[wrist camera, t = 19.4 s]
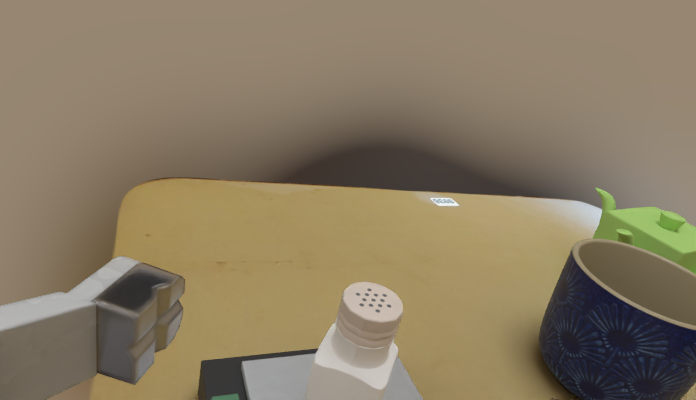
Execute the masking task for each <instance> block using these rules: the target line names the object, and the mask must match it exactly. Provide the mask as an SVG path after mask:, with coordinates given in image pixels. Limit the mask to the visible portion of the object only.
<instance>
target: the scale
mask: <svg viewBox="0 0 696 400" xmlns="http://www.w3.org/2000/svg"><path fill="white" fill-rule="evenodd" d="M317 350H318V349H310V350H300V351H290V352H281V353H271V354H262V355H252V356H243V357H233V358H224V359H214V360H204V361H202V362H201V370H200V379H199V389H198V398H199V400H304V397H305V393H306V389H307V385H308V381H309V377H310V373H311V368H312V364H313V360H314V356H315V354H316V352H317ZM382 400H423V398H422V397H421V395H420V393H419V392H418V390H417V388H416V386H415V385H414V383H413V381H412V380H411V378H410V376H409V374H408V373H407V371H406V369H405V368H404V366H403V364H402V362H401V361H400V359H399V357H398V356H397V357H396V360H395V363H394V366H393V369H392V372H391V375H390V378H389V381H388V384H387V387H386V390H385V393H384V396H383V399H382Z"/></svg>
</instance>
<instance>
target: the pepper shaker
mask: <svg viewBox="0 0 696 400" xmlns="http://www.w3.org/2000/svg"><path fill="white" fill-rule="evenodd" d="M402 315H403V304H402V301H401V300H400V299H399V297H398V296H397V295H396V294H395V293H394V292H393V291H391V290H389V289H388V288H386V287H384V286H382V285H379V284H375V283H370V282H360V283H353V284H351V285H350V286H349V287H347V288H346V289H345V290H344V291H343V295H342V299H341V303H340V307H339V311H338V315H337V318H336V321H335V323H334V324H333V325H332V326H331V328H330V329H329V330H328V332H327V334H326V335H325V337H324V339H323V341H322V342H321V344H320V346H319V348H318V350H317V352H316V354H315V356H314V360H313V364H312V368H311V373H310V377H309V381H308V385H307V389H306V393H305V397H304V400H382V399H383V396H384V393H385V390H386V387H387V384H388V381H389V378H390V375H391V372H392V369H393V366H394V363H395V360H396V357H397V354H398V348H397V346H396V344H395V343H394V342H393V341H394V339H395V336H396V333H397V330H398V327H399V323H400V321H401V318H402Z"/></svg>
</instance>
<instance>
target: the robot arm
mask: <svg viewBox="0 0 696 400" xmlns="http://www.w3.org/2000/svg"><path fill="white" fill-rule="evenodd" d="M184 292H185V279H184V278H183V277H182V276H180V275H177V274H174V273H171V272H168V271H166V270H163V269H160V268H157V267H154V266H151V265H149V264H146V263H141V262H139V261H136V260H133V259H131V258H128V257H125V256H119V257H115V258H114V259H113V260H111V261H110V262H109V263H107V264H106V265H105V266H103V267H102V268H101V269H99V270H98V271H97V272H95V273H94V274H92V275H91V276H90V277H88V278H87V279H86V280H84V281H83V282H82V283H81V284H79V285H78V286H76V287H75V288H73V289H72V290H71V291H70V292H68V293H67V294H66V293H62V292H57V293H52V294H48V295H44V296H40V297H35V298H32V299H27V300H23V301H19V302H15V303H10V304H6V305H2V306H0V400H46V399H48V398H50V397H52V396H54V395H56V394H58V393H61V392H63V391H64V390H67V389H69V388H71V387H73V386H75V385H77V384H79V383H81V382H83V381H85V380H87V379H89V378H92V377H94V376H96V375H97V373H99V374H103V375H106V376H109V377H112V378H115V379H118V380H121V381H124V382H127V383H130V384H133V385H135V384H136V383H137V382H138V381H139V379H140V378H141V377H142V376H143V375H144V374H145V372H146V371H147V370H148V369H149V368H150V367H151V365H152V364H153V363H154V353H155V352H158V351H161V350H163V349H166V348H167V346H168V345H169V344H170V343H171V341H172V340H173V339H174V337H175V335H176V333H177V331H178V329H179V327H180V323H181V320H182V315H183V307H182V305H181V303H180V302H179V300H178V299H179V298H180V297H181V296H182V295H183V293H184ZM550 400H557V399H554V398H551V399H550Z"/></svg>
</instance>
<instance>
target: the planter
mask: <svg viewBox="0 0 696 400" xmlns="http://www.w3.org/2000/svg"><path fill="white" fill-rule="evenodd" d="M539 346H540V351H541V354H542V357H543V359H544V361H545V363H546V365H547V366H548V368H549V369H550V371H551V372H552V374H553V375H554V376H555V377H556V378H557V380H558V381H559V382H560V383H561V384H562V385H563V386H564V387H566V388H567V389H568V390H569V391H570V392H572V393H573V394H574V395H576V396H577V397H578V398H580V399H581V400H680V399H681V398H682V397H683V396H684V395H685V394H686V393H687V392H688V391H689V389H690V388H691V387H692V386H693V385H694V384H695V382H696V274H695V273H693V272H691V271H689V270H688V269H686V268H684V267H682V266H680V265H678V264H677V263H675V262H673V261H671V260H668V259H666V258H664V257H662V256H660V255H657V254H655V253H652V252H650V251H647V250H645V249H642V248H639V247H636V246H633V245H629V244H626V243H622V242H618V241H613V240H606V239H585V240H581V241H579V242H577V243H576V244H575V245H574V246H573V248H572V250H571V252H570V255H569V257H568V259H567V262H566V264H565V266H564V268H563V271H562V273H561V275H560V278H559V280H558V282H557V285H556V287H555V289H554V291H553V294H552V296H551V299H550V301H549V304H548V306H547V309H546V312H545V315H544V318H543V321H542V325H541V328H540V335H539Z"/></svg>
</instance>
